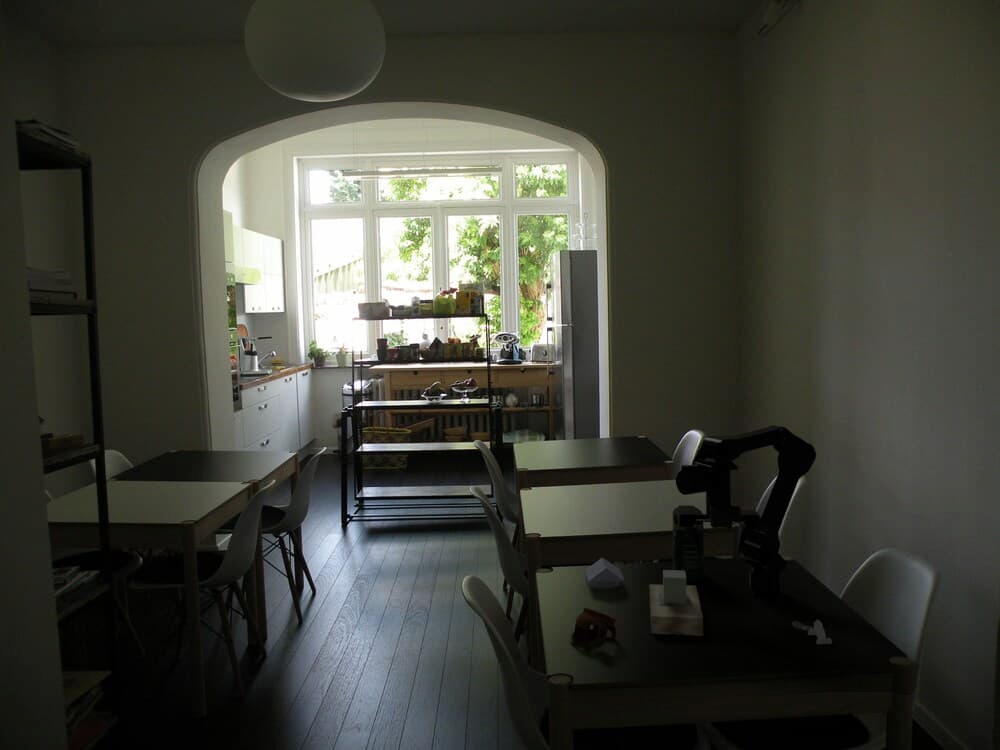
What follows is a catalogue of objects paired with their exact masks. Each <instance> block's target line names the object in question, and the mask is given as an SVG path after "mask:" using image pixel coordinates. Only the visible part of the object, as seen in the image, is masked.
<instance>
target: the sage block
mask: <svg viewBox="0 0 1000 750" xmlns="http://www.w3.org/2000/svg"><path fill="white" fill-rule="evenodd" d="M662 585H663V596H664V603H678V604H687V591H686V585H687V581H686V574H685V571H679V570H673V569H670V570H668V569H663V570H662Z"/></svg>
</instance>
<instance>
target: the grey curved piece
mask: <svg viewBox="0 0 1000 750" xmlns="http://www.w3.org/2000/svg"><path fill="white" fill-rule="evenodd" d="M791 624H792V626H793V627H794V628H796V629H801V630H802V631H806V632H807V636H816V637H817V638H816V645H831V644H832V642H833V640H832V638H831V637H827V634H826V631H825V629H824V626H823V623H822V622H821V621H820V619H816V620H815V621H814V623H813V627H811V626H809V625H806V624H803V622H802V623H801V622H799V621H796V620H793V622H791Z"/></svg>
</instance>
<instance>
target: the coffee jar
mask: <svg viewBox="0 0 1000 750" xmlns="http://www.w3.org/2000/svg"><path fill="white" fill-rule="evenodd" d="M679 510H695V514H704V513H703V512H702V510H701V509H700V508H697V507H696V506H695V505H678V506H676V507H675V508H674V509H673V510H672V514H671V515H672V570H679V571H685V574H686V582H687V583H688V582H689V583H690V582H691V583H692V582H693V583H694V582H696V581H697V582H698V581H702V580H703V579H704V575H705V574H704V573H705V572H704V570H705V567H704V566H705V565H704V562H705V561H704V560H705V559H704V556H705V554H704V553H705V551H704V550H705V539H704V537H705V532H704V530H705V529H704V523H705V522H696V525H697V529H698V537H699V544H700V554H698V551H697V548H696V545H695V542H694V539H693V536H692V534H691V532H690V531H689V530H685V528H684V527H681V526H679V523H678V512H679Z"/></svg>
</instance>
